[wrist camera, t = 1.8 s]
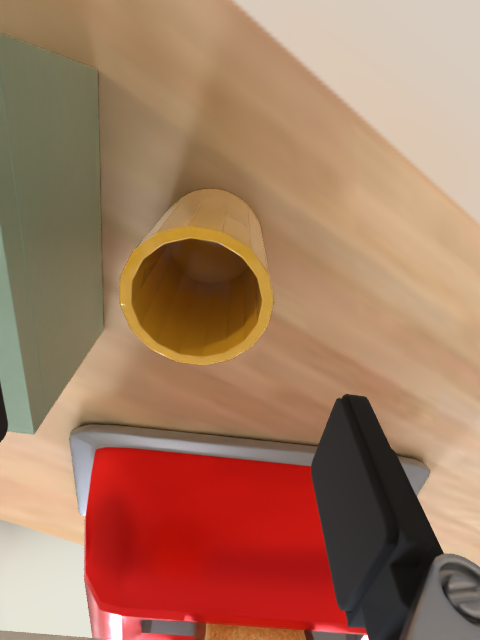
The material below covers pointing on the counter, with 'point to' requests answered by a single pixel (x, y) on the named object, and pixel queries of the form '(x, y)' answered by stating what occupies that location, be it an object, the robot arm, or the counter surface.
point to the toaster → (205, 537)
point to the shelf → (47, 226)
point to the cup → (200, 280)
